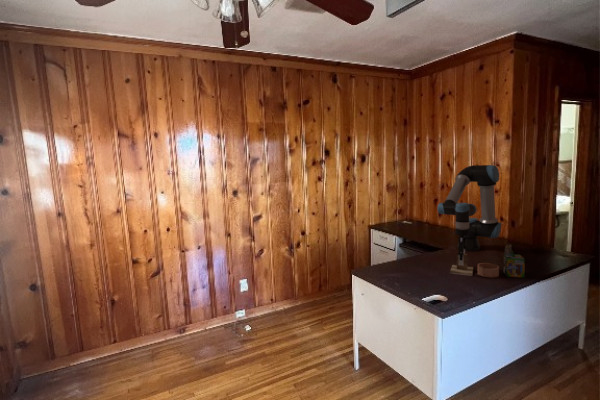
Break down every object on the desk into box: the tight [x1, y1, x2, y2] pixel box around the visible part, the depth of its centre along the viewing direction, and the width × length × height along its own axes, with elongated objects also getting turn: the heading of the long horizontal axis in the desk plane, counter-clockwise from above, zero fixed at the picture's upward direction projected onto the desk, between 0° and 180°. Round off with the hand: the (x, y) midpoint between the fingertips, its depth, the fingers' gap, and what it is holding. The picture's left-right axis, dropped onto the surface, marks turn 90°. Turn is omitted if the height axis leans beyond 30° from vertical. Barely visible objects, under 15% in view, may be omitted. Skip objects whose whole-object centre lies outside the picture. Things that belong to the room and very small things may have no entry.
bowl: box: [477, 262, 500, 278], centre depth 190 cm, size 11×11×5 cm
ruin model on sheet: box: [504, 243, 513, 254], centre depth 220 cm, size 11×3×10 cm, turn 140°
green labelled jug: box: [502, 249, 526, 279], centre depth 187 cm, size 9×9×15 cm
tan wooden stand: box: [449, 253, 474, 276], centre depth 197 cm, size 12×12×11 cm
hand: (461, 261), depth 197 cm, fingers open, 13 cm apart
